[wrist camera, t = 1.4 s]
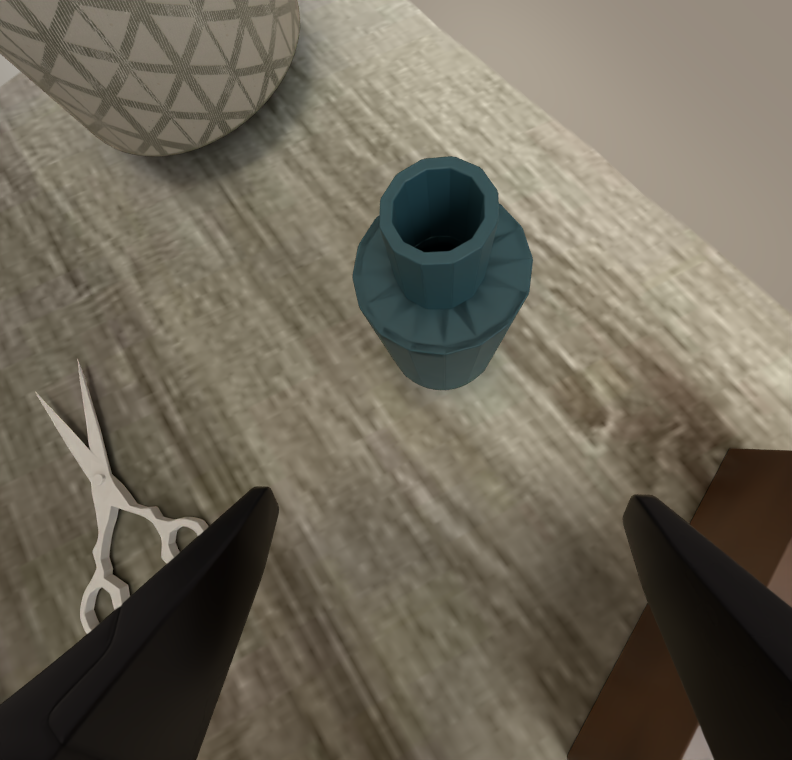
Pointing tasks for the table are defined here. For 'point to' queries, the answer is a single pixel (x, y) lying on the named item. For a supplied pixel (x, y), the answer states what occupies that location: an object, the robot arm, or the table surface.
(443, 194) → the teal faceted vase
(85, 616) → the scissors
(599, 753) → the wall
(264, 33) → the planter
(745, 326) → the table surface
